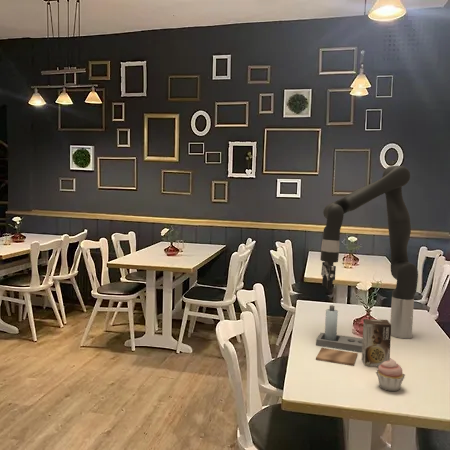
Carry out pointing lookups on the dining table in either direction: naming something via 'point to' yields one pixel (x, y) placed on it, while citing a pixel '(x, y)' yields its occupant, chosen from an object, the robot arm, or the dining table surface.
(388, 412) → the dining table surface
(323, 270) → the robot arm
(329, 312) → the pale blue bottle
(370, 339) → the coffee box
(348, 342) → the grey tray
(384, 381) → the cupcake
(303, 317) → the dining table surface
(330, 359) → the walnut board
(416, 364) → the dining table surface
